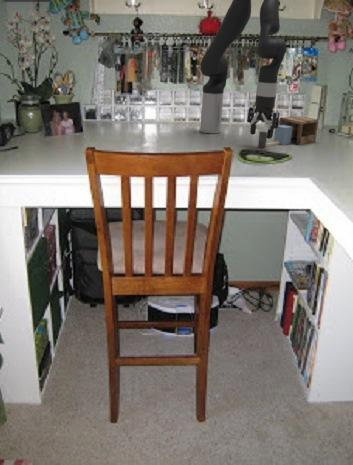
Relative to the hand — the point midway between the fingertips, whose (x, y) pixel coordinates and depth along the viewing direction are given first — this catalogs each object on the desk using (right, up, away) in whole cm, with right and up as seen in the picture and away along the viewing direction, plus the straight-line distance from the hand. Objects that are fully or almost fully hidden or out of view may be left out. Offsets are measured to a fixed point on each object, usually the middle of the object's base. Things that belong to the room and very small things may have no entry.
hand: (260, 136), depth 188 cm
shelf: (+18, +1, +15) cm, 23 cm away
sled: (+6, -2, +6) cm, 9 cm away
